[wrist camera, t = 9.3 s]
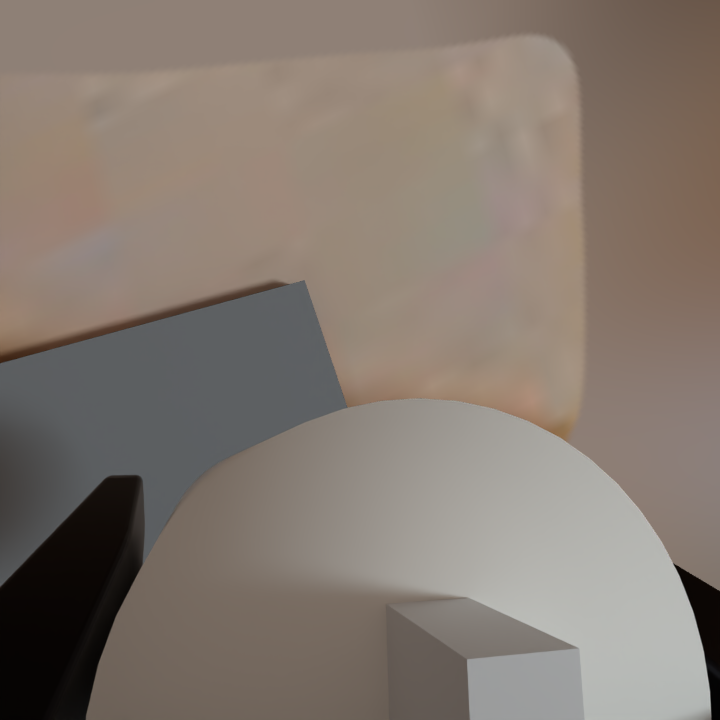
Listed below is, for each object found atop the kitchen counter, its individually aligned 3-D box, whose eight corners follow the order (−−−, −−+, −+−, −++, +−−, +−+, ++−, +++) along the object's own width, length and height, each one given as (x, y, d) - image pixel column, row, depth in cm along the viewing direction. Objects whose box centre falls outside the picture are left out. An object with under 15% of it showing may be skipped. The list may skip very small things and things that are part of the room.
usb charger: (373, 653, 14) (968, 1258, 3) (159, 673, 13) (-20, 1661, 2) (368, 446, 15) (843, 373, 4) (164, 449, 14) (50, 362, 3)
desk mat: (514, 922, 21) (526, 938, 21) (-102, 1301, 16) (-117, 1341, 16) (300, 286, 23) (304, 280, 22) (-317, 456, 18) (-340, 455, 17)
